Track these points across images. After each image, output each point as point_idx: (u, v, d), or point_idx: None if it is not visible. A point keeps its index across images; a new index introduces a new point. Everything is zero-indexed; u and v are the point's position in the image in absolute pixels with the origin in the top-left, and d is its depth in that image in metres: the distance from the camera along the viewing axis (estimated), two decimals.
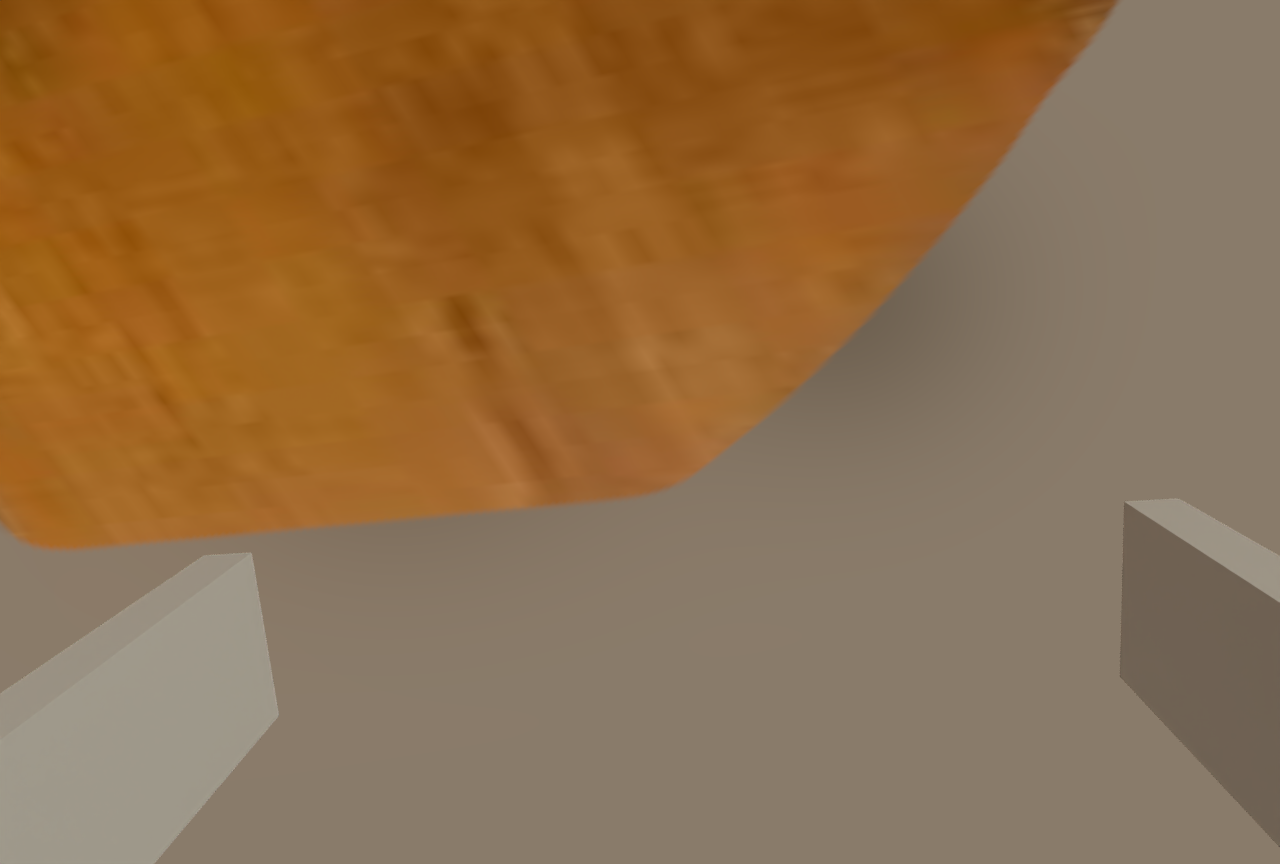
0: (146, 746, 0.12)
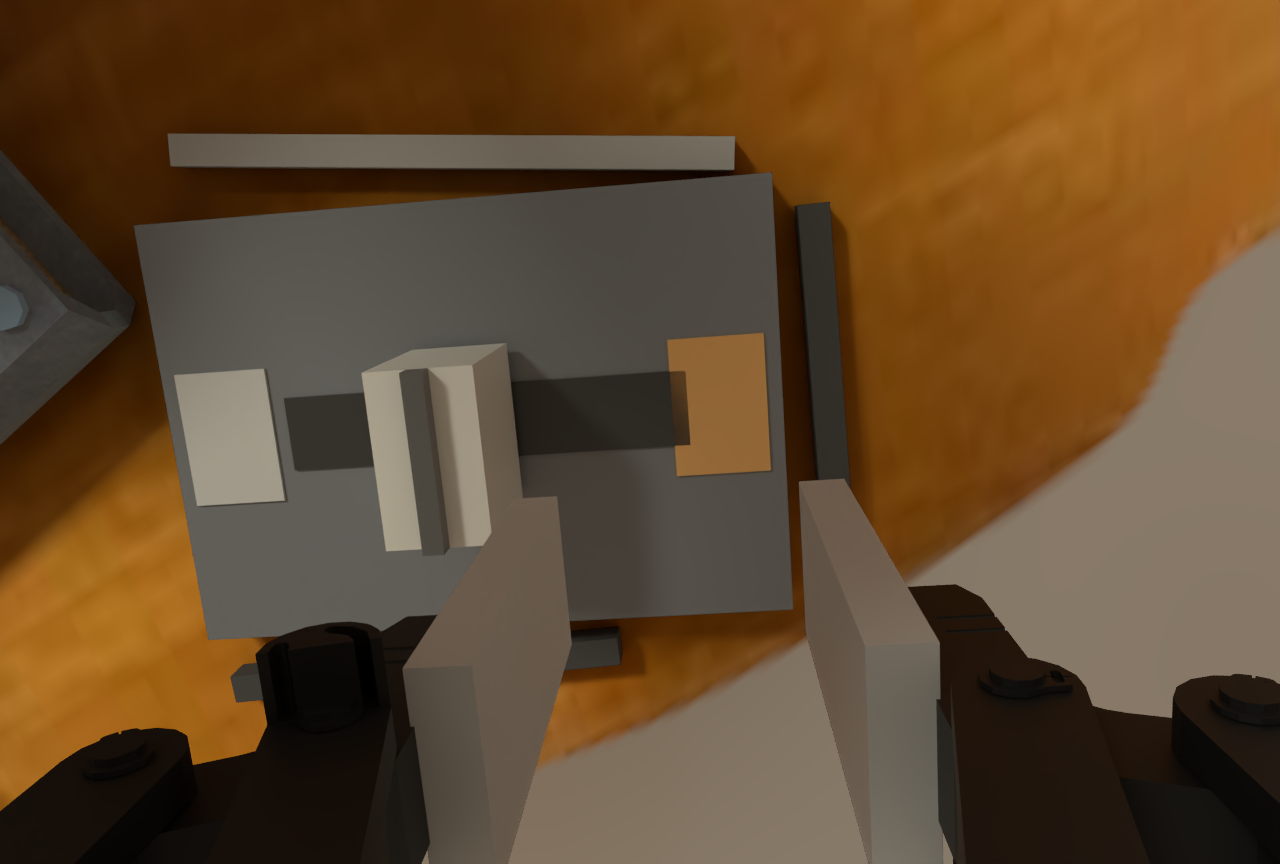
0: (532, 651, 0.14)
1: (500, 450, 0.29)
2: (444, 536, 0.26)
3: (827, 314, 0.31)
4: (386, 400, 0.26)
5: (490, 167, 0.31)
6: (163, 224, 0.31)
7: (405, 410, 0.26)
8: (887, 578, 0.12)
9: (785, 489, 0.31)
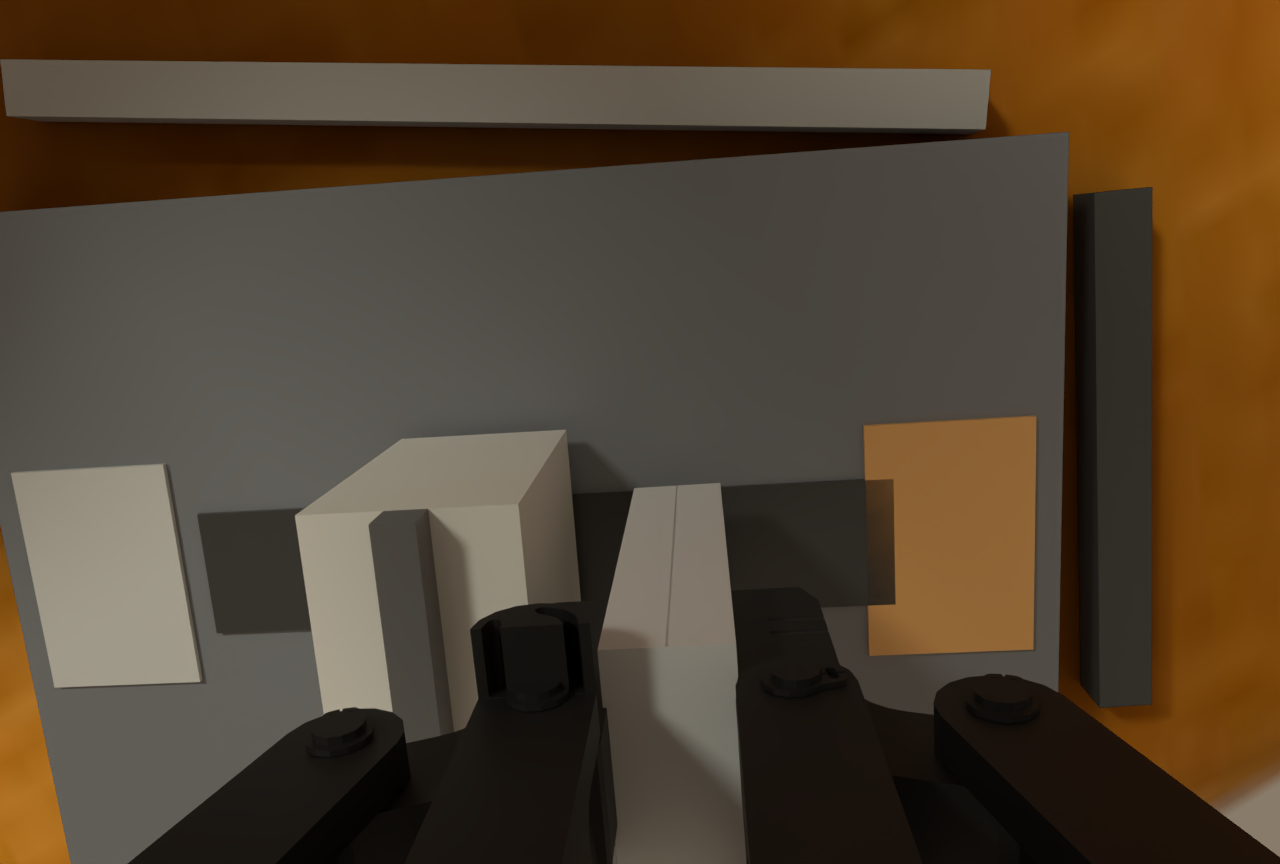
0: None
1: None
2: None
3: (1133, 381, 0.18)
4: (345, 569, 0.13)
5: (556, 122, 0.18)
6: None
7: (381, 599, 0.12)
8: (716, 581, 0.12)
9: (1055, 680, 0.18)
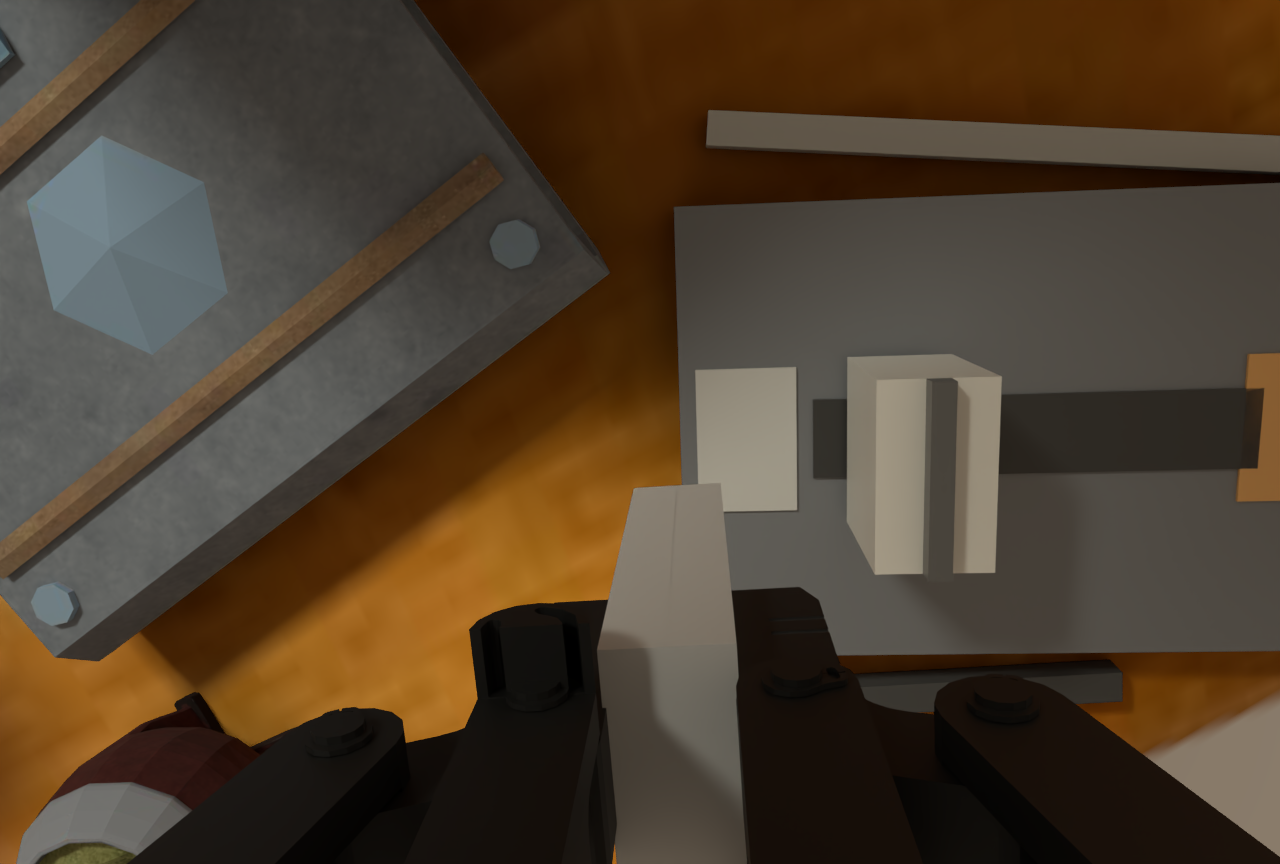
0: None
1: None
2: None
3: None
4: (900, 410, 0.24)
5: (1058, 161, 0.29)
6: (707, 207, 0.28)
7: (934, 423, 0.23)
8: (716, 581, 0.12)
9: None
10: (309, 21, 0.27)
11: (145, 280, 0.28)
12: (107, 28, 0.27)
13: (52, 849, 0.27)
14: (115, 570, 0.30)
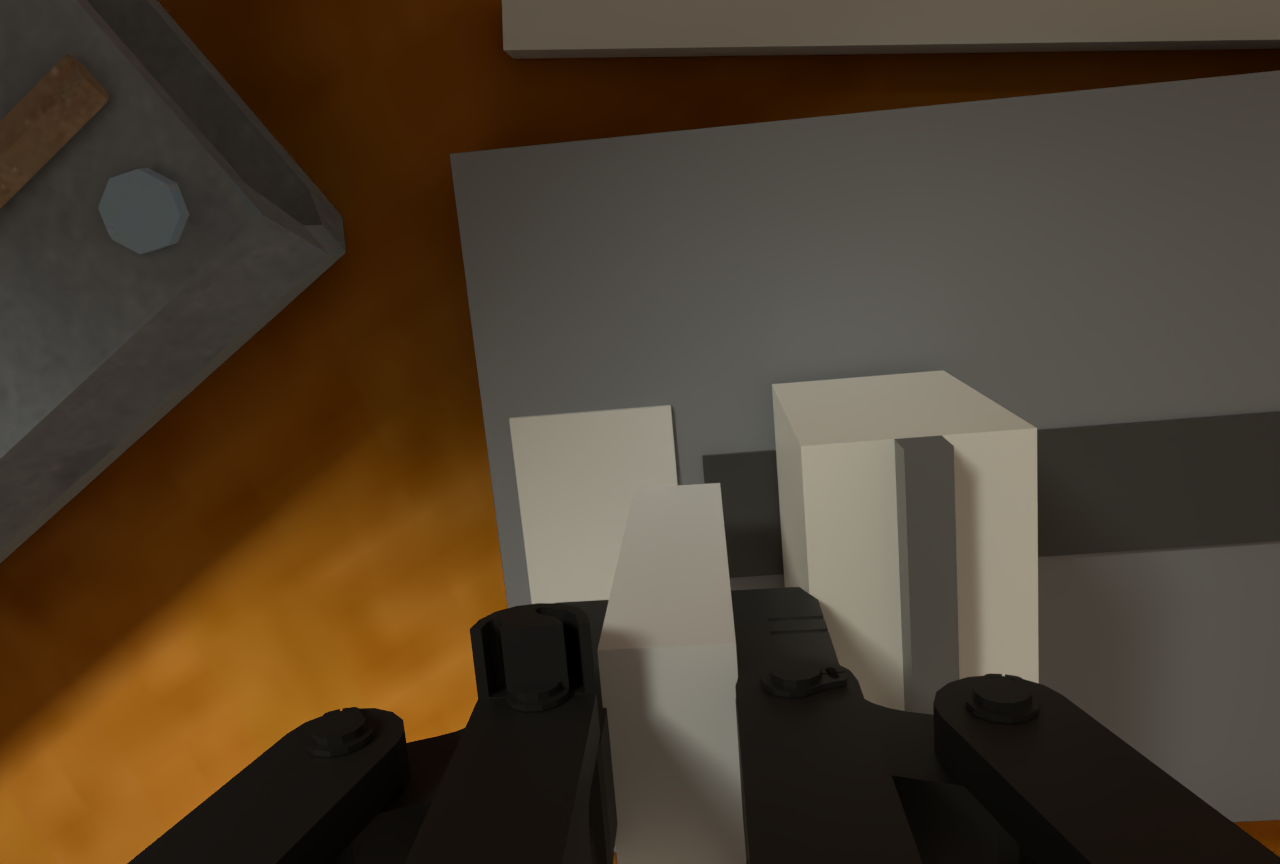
0: None
1: None
2: None
3: None
4: (848, 500, 0.13)
5: (1083, 41, 0.17)
6: (504, 151, 0.17)
7: (912, 526, 0.12)
8: (715, 581, 0.12)
9: None
10: None
11: None
12: None
13: None
14: None
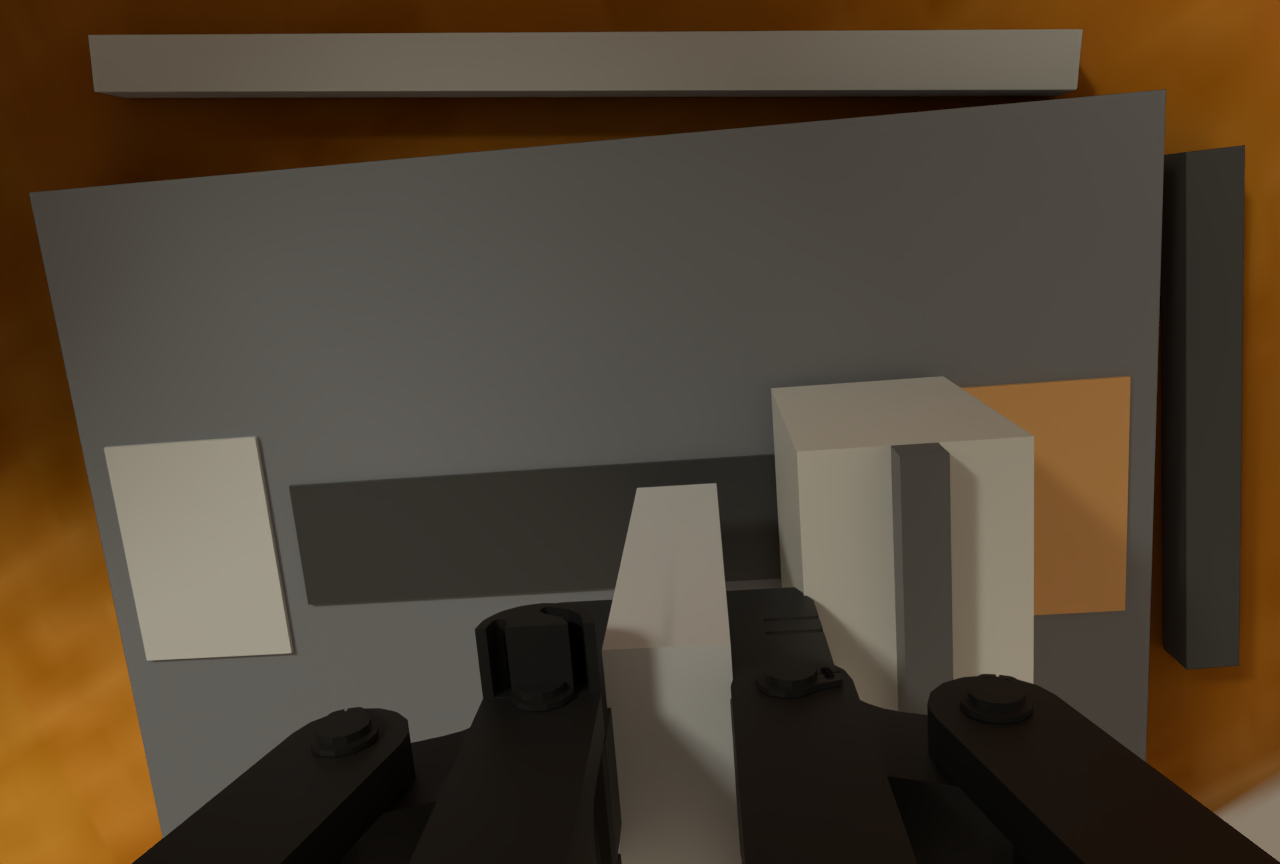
0: None
1: None
2: None
3: (1224, 342, 0.18)
4: (844, 506, 0.13)
5: (644, 89, 0.18)
6: (80, 190, 0.18)
7: (907, 534, 0.12)
8: (711, 581, 0.12)
9: (1146, 641, 0.18)
10: None
11: None
12: None
13: None
14: None
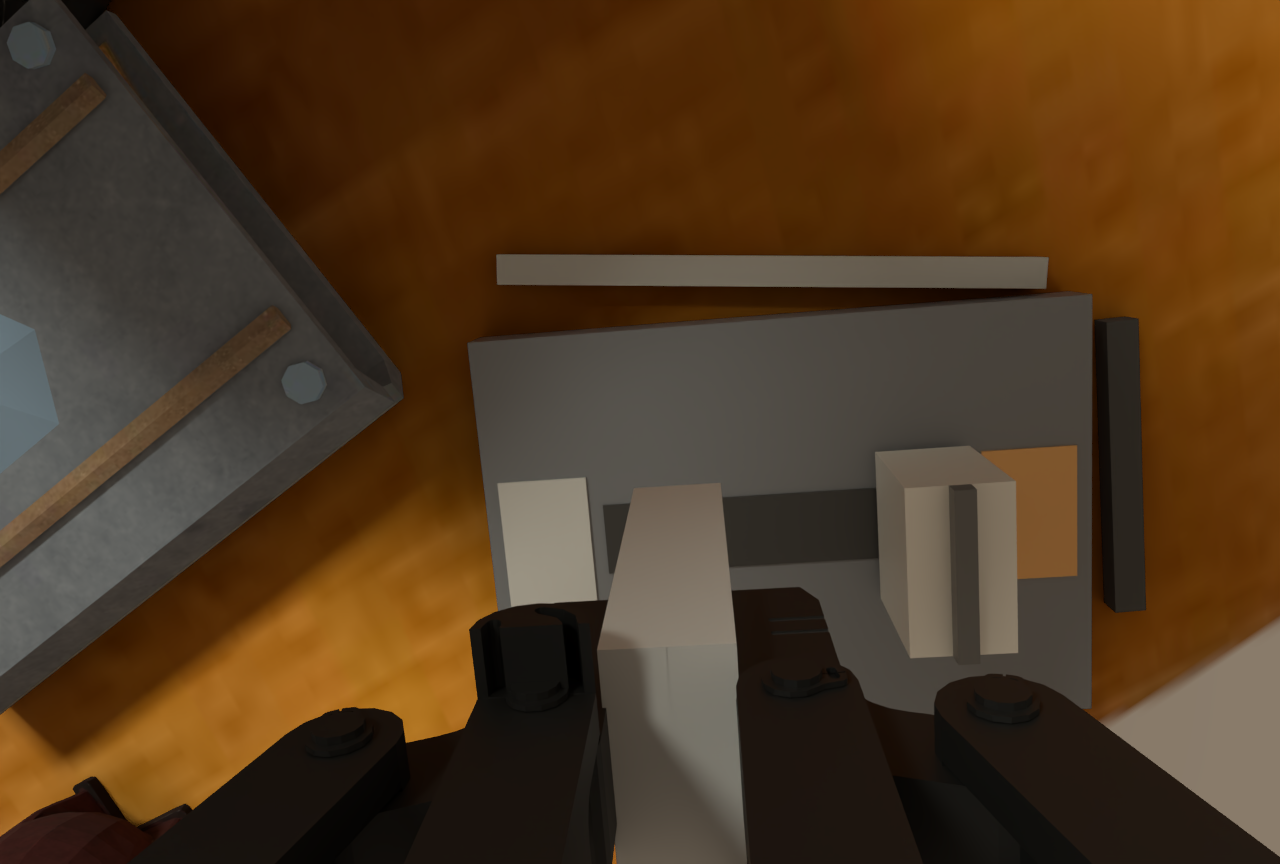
0: None
1: None
2: None
3: (1130, 425, 0.32)
4: (926, 514, 0.27)
5: (807, 285, 0.32)
6: (496, 342, 0.32)
7: (957, 526, 0.26)
8: (716, 581, 0.12)
9: (1089, 593, 0.32)
10: (119, 193, 0.30)
11: None
12: None
13: None
14: None
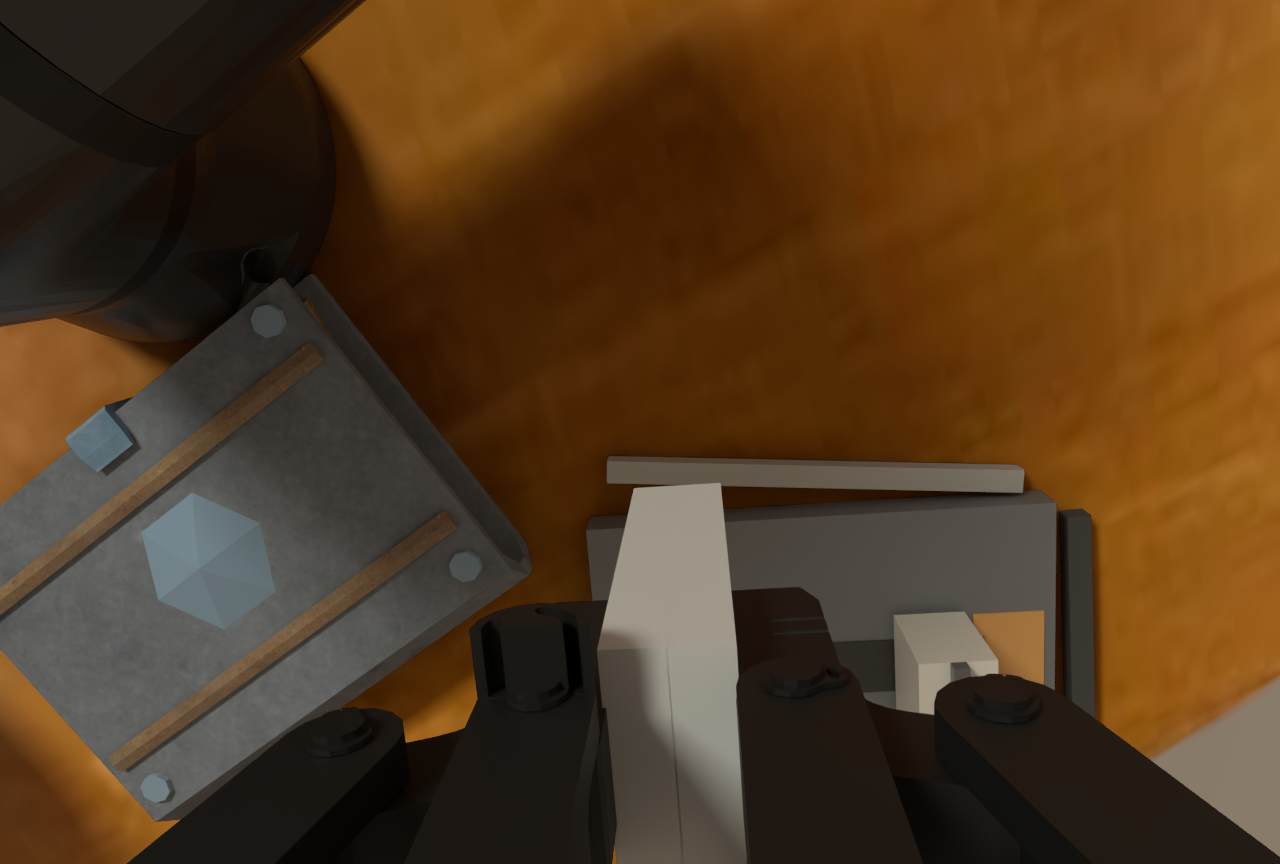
0: None
1: None
2: None
3: (1085, 592, 0.43)
4: (934, 682, 0.38)
5: (842, 487, 0.43)
6: (608, 529, 0.42)
7: None
8: (716, 581, 0.12)
9: None
10: (329, 426, 0.41)
11: (221, 586, 0.42)
12: (196, 427, 0.41)
13: None
14: (198, 766, 0.44)
